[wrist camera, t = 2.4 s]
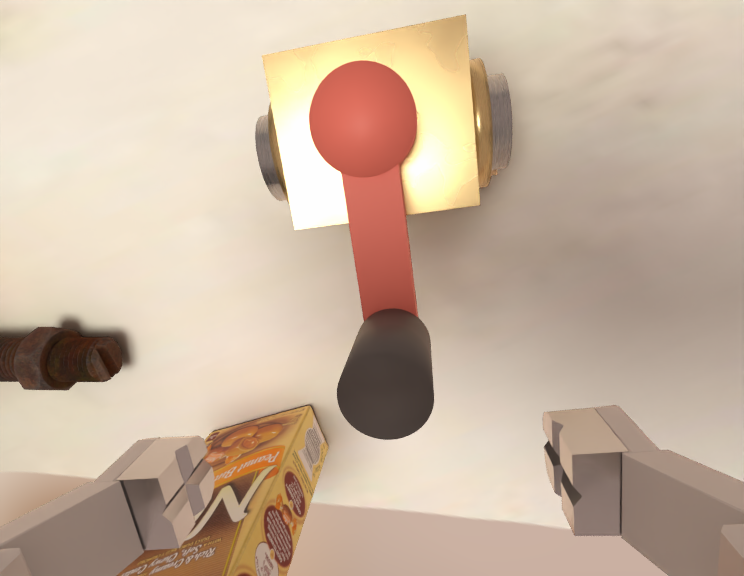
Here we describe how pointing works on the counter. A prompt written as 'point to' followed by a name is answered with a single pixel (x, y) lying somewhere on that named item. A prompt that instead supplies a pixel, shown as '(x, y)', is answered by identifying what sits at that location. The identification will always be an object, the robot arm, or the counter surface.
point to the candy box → (249, 501)
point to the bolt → (58, 359)
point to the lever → (377, 246)
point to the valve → (434, 121)
